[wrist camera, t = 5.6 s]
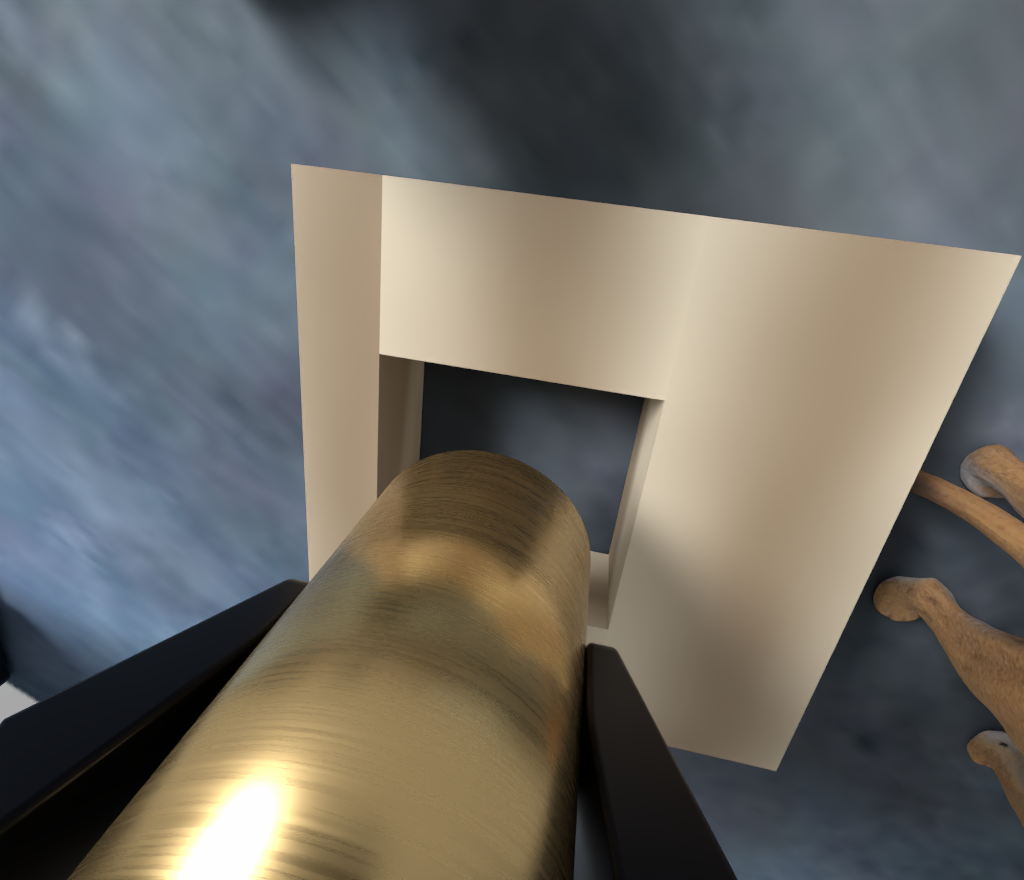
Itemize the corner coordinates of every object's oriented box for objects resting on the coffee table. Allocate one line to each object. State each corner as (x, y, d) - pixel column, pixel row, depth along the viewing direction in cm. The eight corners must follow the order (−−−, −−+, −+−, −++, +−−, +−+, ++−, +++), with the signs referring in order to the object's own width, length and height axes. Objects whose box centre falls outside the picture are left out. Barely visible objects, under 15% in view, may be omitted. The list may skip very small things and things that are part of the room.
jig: (360, 592, 17) (312, 664, 14) (362, 174, 12) (291, 163, 10) (747, 675, 16) (775, 770, 13) (919, 245, 11) (1021, 256, 8)
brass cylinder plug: (371, 615, 11) (20, 1206, 4) (374, 431, 9) (-179, 939, 3) (570, 658, 10) (507, 1384, 4) (610, 473, 9) (612, 1193, 2)
